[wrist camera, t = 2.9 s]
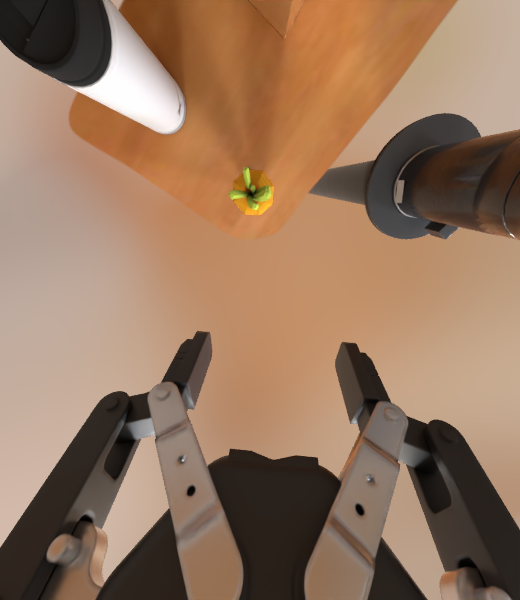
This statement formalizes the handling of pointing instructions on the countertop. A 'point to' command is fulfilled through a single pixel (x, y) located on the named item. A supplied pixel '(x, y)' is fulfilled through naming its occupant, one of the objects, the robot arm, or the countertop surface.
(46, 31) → the travel mug
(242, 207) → the carrot
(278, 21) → the pad socket
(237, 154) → the countertop surface
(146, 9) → the countertop surface
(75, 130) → the countertop surface
